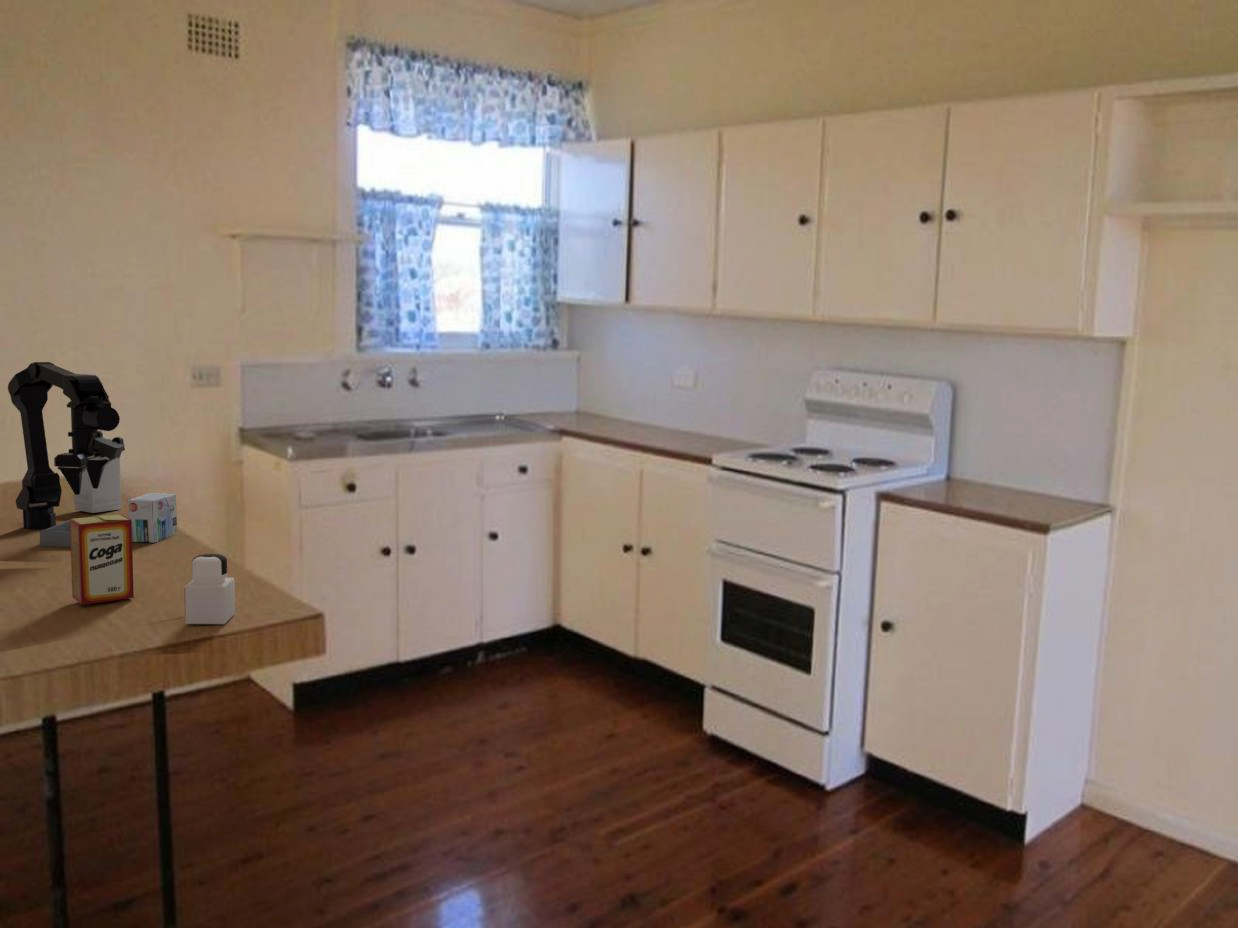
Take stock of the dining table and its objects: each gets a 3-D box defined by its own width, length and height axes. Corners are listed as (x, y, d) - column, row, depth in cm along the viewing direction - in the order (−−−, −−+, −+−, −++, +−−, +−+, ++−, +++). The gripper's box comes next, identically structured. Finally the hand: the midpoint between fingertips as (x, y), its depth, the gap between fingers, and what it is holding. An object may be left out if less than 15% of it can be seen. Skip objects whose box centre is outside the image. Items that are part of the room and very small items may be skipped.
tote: (40, 546, 254) (39, 531, 254) (71, 533, 269) (71, 519, 269) (105, 547, 254) (104, 533, 254) (133, 534, 270) (132, 521, 269)
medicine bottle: (196, 613, 203) (195, 551, 201) (235, 614, 203) (234, 551, 202) (184, 624, 196) (183, 559, 194) (225, 624, 196) (223, 560, 195)
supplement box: (122, 509, 303) (121, 456, 301) (92, 513, 295) (90, 459, 293) (103, 505, 307) (102, 453, 305) (73, 509, 300) (71, 456, 298)
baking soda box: (81, 604, 206) (78, 522, 204) (72, 597, 211) (69, 517, 209) (133, 597, 212) (131, 517, 210) (123, 590, 217) (121, 512, 215)
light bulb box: (178, 534, 271) (155, 543, 261) (153, 533, 272) (129, 543, 261) (176, 492, 270) (152, 500, 259) (150, 491, 270) (126, 499, 260)
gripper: (100, 432, 250) (102, 499, 252) (135, 424, 269) (136, 486, 271) (51, 431, 250) (54, 497, 252) (90, 423, 269) (92, 485, 271)
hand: (86, 491), depth 261 cm, fingers open, 9 cm apart
